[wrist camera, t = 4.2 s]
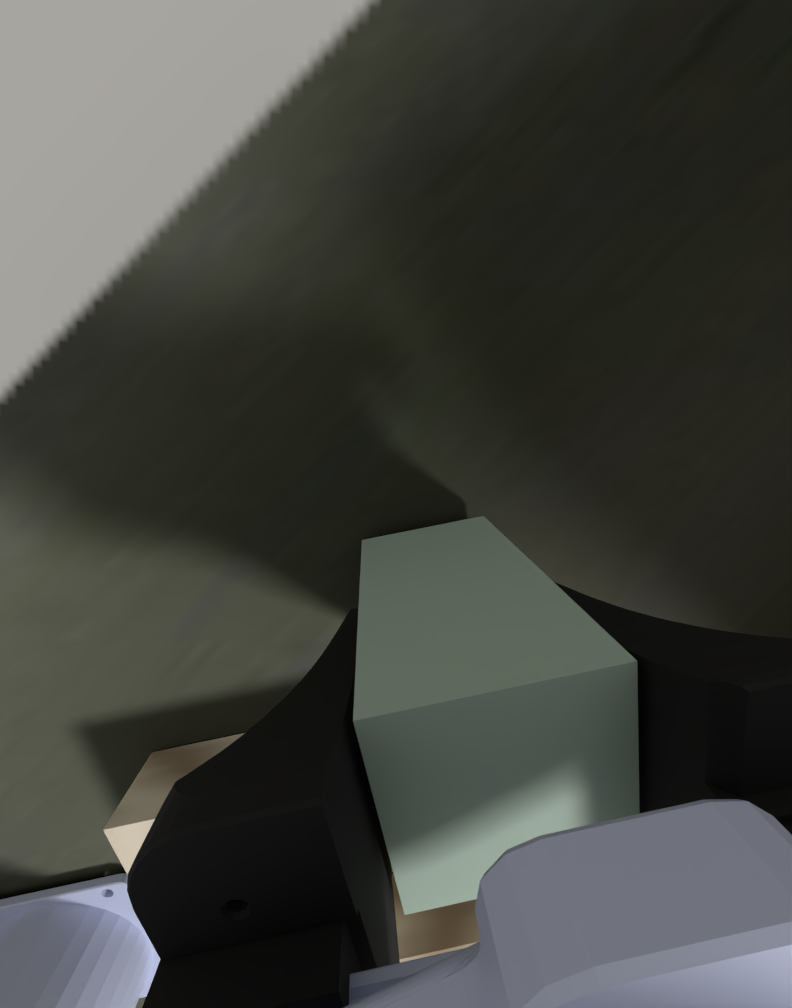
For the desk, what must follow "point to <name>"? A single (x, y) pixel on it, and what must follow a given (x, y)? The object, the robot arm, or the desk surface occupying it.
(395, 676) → the green peg
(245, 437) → the desk surface
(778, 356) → the desk surface
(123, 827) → the block
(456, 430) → the desk surface
